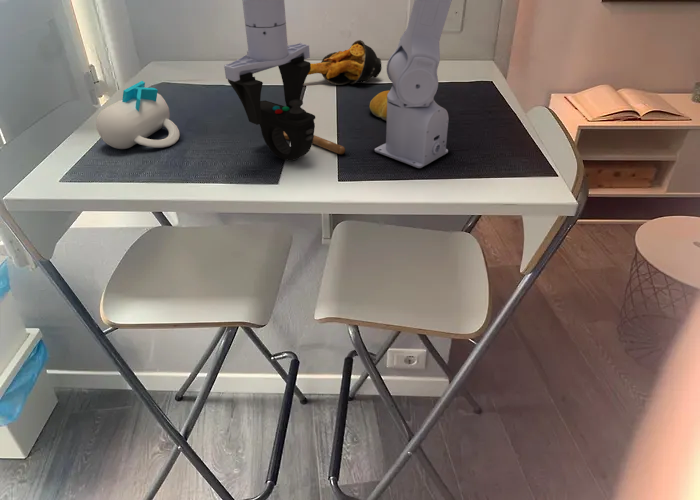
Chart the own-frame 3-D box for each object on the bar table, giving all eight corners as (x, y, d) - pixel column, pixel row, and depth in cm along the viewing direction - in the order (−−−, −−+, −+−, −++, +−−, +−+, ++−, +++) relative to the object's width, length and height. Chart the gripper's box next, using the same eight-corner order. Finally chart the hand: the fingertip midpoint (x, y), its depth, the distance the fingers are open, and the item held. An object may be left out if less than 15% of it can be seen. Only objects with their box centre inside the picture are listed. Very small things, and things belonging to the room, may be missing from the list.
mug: (89, 94, 88) (138, 71, 97) (86, 141, 94) (132, 115, 103) (154, 132, 88) (197, 105, 97) (146, 176, 93) (187, 147, 103)
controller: (303, 172, 88) (299, 110, 82) (249, 150, 94) (242, 91, 89) (321, 162, 91) (319, 101, 85) (268, 142, 97) (262, 84, 91)
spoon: (356, 149, 94) (356, 141, 94) (331, 161, 91) (331, 153, 90) (286, 122, 104) (286, 115, 103) (261, 132, 100) (260, 125, 100)
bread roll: (395, 127, 102) (396, 105, 99) (362, 113, 107) (362, 92, 105) (427, 115, 106) (429, 94, 104) (393, 102, 112) (394, 82, 109)
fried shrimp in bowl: (393, 64, 116) (314, 45, 108) (369, 105, 124) (294, 90, 115) (381, 36, 121) (304, 16, 112) (358, 77, 129) (285, 61, 120)
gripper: (285, 9, 86) (291, 96, 94) (205, 28, 78) (220, 122, 85) (317, 16, 82) (321, 106, 90) (238, 37, 74) (250, 134, 82)
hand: (274, 115), depth 88 cm, fingers open, 7 cm apart
